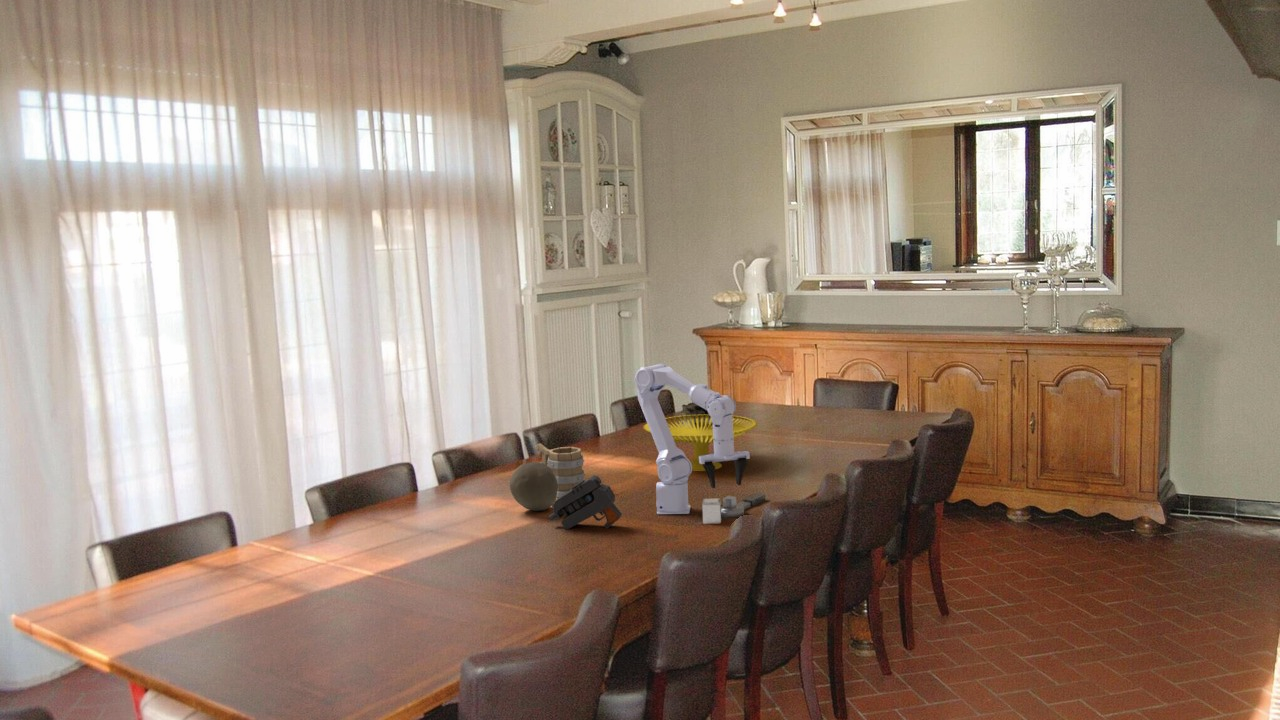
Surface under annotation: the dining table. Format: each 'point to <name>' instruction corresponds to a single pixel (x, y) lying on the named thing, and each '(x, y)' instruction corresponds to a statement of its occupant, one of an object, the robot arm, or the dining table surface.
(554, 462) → the tankard
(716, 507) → the white boxy piece
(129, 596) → the dining table surface
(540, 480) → the cantaloupe
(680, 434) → the cake stand
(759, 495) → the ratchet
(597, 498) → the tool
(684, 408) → the dark rounded lump
